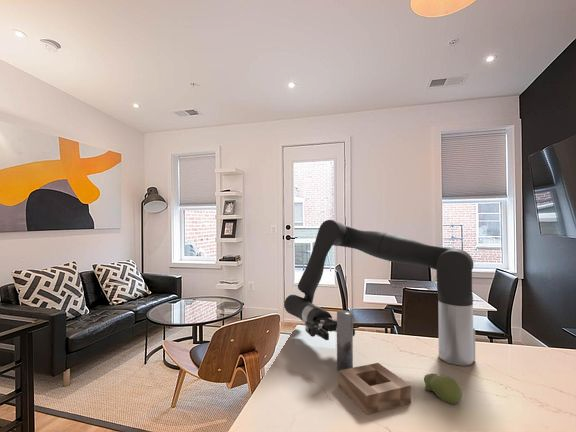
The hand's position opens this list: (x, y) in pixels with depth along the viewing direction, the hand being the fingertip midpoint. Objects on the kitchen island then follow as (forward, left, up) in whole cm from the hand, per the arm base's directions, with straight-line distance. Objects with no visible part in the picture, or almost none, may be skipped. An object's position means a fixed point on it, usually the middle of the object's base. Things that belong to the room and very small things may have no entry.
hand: (340, 334), depth 89 cm
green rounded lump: (-15, +21, -9) cm, 28 cm away
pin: (0, +2, -9) cm, 9 cm away
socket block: (0, +15, -9) cm, 18 cm away
